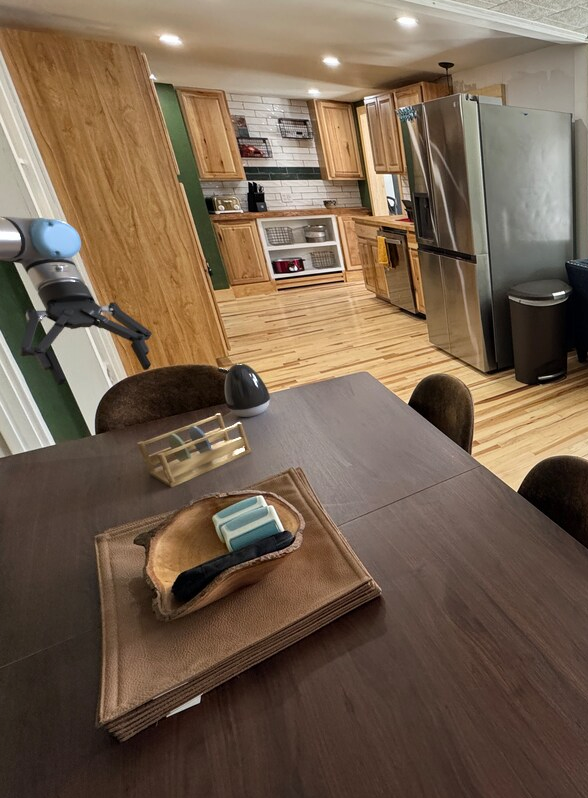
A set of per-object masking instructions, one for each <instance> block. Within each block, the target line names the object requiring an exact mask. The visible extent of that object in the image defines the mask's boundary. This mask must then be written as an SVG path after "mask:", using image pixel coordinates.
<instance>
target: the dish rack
mask: <svg viewBox="0 0 588 798" xmlns="http://www.w3.org/2000/svg"><path fill="white" fill-rule="evenodd" d="M213 420H217V423H218V426H219V427H218V428H215V429H213V430H211V431H207V432H206V433H205V432H204V431H203V430H202V429H201V428H200V427H198V426H200V425H202V424H205V423H208V422H210V421H213ZM234 429H237V431H238V433H239V437H237V438H235V439H230V437H229V432H230V431H232V430H234ZM186 430H188V433H189V437H190V439H187V440H185V441H184V440H183V439H181V437H180V436H179V435H177V434H178V433H181V432H184V431H186ZM165 438H167V440H168V445H169V447H166V448H164V449H161V450H159V451H156V452H153V453H151V454H149V452H148V450H147V447H146V445H149V444H151V443H154V442H156V441H157V442H158V441H159V440H162V439H165ZM220 439H223V440H220ZM218 440H220V441H218ZM215 441H217V442H215ZM213 442H215V443H213ZM211 443H213V444H211ZM136 444H137V447H138V449H139V451H140V453H141V455H142V458H143V461H144V464H145V466H146V468H147V470H148V473H149V475H151V476H152V477H154V478H155V479H157V480H158V481H160V482H162V483H164V484H165V485H167V486H168V487H170V488H174V487H176V486H178V485H181V484H183V483H186V482H187V481H189V480H192V479H194V478H196V477H199V476H201V475H203V474H205V473H208V472H210V471H213V470H214V469H217V468H219V467H221V466H223V465H225V464H228V463H230V462H232V461H234V460H237V459H239V458H241V457H244V456H246V455H248V454H251V453H252V450H251V448H250V444H249V441H248V438H247V436H246V433H245V430H244V427H243V423H242V422H241V421H238V422H236V423H235V424H233V425H231V426H229V427H227V426H226V425H225V423H224V419H223V417H222V413H220V412H218V413H216V414H215V415H213V416H210V417H207V418H205V419H202V420H198V421H197V422H193V423H191V424H189V425H185V426H182V427H180V428H177V429H175V430H171V431H168V432H167V433H164V434H161V435H157V436H155V437H153V438H150V439H148V440H145V441H141V440H140V441H138V442H137V443H136ZM193 450H196V451H194V452H191V453H190V451H193ZM173 458H176V459H174V460H172V459H173ZM170 459H171V460H172V461H169V460H170ZM168 461H169V462H168ZM158 464H160V466H157V467H155V466H156V465H158Z"/></svg>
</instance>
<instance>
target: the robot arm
mask: <svg viewBox="0 0 588 798" xmlns="http://www.w3.org/2000/svg"><path fill="white" fill-rule="evenodd" d="M81 247H82V239H81V237H80V234H79V232H78V231H77V229H75V228H74V227H73V226H72V225H71V224H69V223H67V222H65V221H63V220H60V219H56V218H48V217H37V218H35V217H34V218H32V217H17V216H16V217H15V216H0V261H5V262H7V263H8V262H9V263H17V264H21V266H22V268H23V269H24V270H25V272H26V274H27V276H28V277H29V279H30V282H31V284H32V285H33V287H34V290H35V291H36V292H37V296H38V298H39V299H40V301H41V303H42V305H43V307H44V309H45V310H36V309H35V308H33V307H32V308H31V307H30V308H27V310H26V313H25V320H26V322H27V326H26V329H25V332H24V335H23V339H22V342H21V345H20V348H19V351H18V355H19V356H21V357H27V356H28V357H29V356H32V357H33V358H34V359H35V360H37V362H38V364H39V366H40V368H41V369H42V370H43V371H50V372H51V375H52V377H53V378H54V381H55V382H56V384H57V386H61V385H64V384H65V382H66V376H65V374H64V372H63V371H62V369H61V366H60V365H59V363H58V361H57V359H56V357H55V355H54V353H53V352H52V350H48V349H49V348H50V346H52V344H53V343H54V342H55V340H56V339H57V338H58V336H59V335H60V334H61V333H62V332H63V331H64V329H65V328H67V329H70V330H76V329H81V328H91V327H92V326H94V327H96V328H97V329H104V330H106V331H107V332H110V333H112V334H114V335H116V336H119V337H121V338H123V339H125V340H127V341H129V342H131V344H130V347H131V349H132V351H133V353H134V355H135V356H136V358H137V361H138V362H139V364H140V366H141V367H142V370H143V371H146V370H149V369H150V366H151V365H152V363H151V361H150V358H148V356H147V355H148V354H149V353H150V349H149V346H148V345H147V343H146V342H145V341H148V340H150V338H151V336H152V331H151V330H149V329H148V328H147V327H145V326H144V325H143V324H141V323H140V322H138V321H137V320H135V319H134V318H133V317H131V316H130V315H129V314H127V313H126V312H124V311H123V310H122V309H121V307H120V306H119V305H118V303H117V302H115V301H113V302H110V303H109V304H105V305H99V304H98V303H96V301H95V298H94V297H93V295H92V293H91V291H90V289H89V287H88V286H87V285H86V281H85V280H84V278H83V276H82V274H81V272H80V270H79V269H78V266H77V265H76V262H75V261H74V258H73V257H74V256H76V255H77V254H78V253H79V252H80V250H81ZM102 313H105V314H106V315H108V316H111V317H112V318H113V319H114V320H116V321H117V322H118V323H117V322H115V321H113V320H112V319H109V317H108V316H105V315H103V314H102ZM44 318H47V319H49V320H50V321H53V323H54V324H53V325H52V327H51V328H50V329H49V331H48V332H47V333H46V334H45V336H43V338H42V339H41V340H40V342H39V343H38V345H37V346H36V347H34V346H32V343H33V340H34V337H35V333H36V330H37V326H38V325H39V322H42V321H43V319H44Z"/></svg>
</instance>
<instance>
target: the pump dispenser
mask: <svg viewBox="0 0 588 798" xmlns="http://www.w3.org/2000/svg"><path fill="white" fill-rule="evenodd" d="M216 370H217V372H219V373H221V374H223V375H224V374H225V380H224V398H225V404H226V407H227V409H229V410H230V411H231V412H232V413H233V414H234V415H236V416H238V417H243V418H252V417H254V416H258V415H260V414H262V413H264V412H265V411H266V410H267V409H268V408H269V405H270V400H271V395H270V392H269V389H268V387H267V386H266V384H265V382H264V381H263V379H262V378H261V376H260V375H259V374H258V372H256V371H255V370H254V369H253V368H252V367H251V366H250V365H249V364H246V363H235V364H233V365H232V366H230V367H229V368H223V367H218V368H217V369H216Z"/></svg>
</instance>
